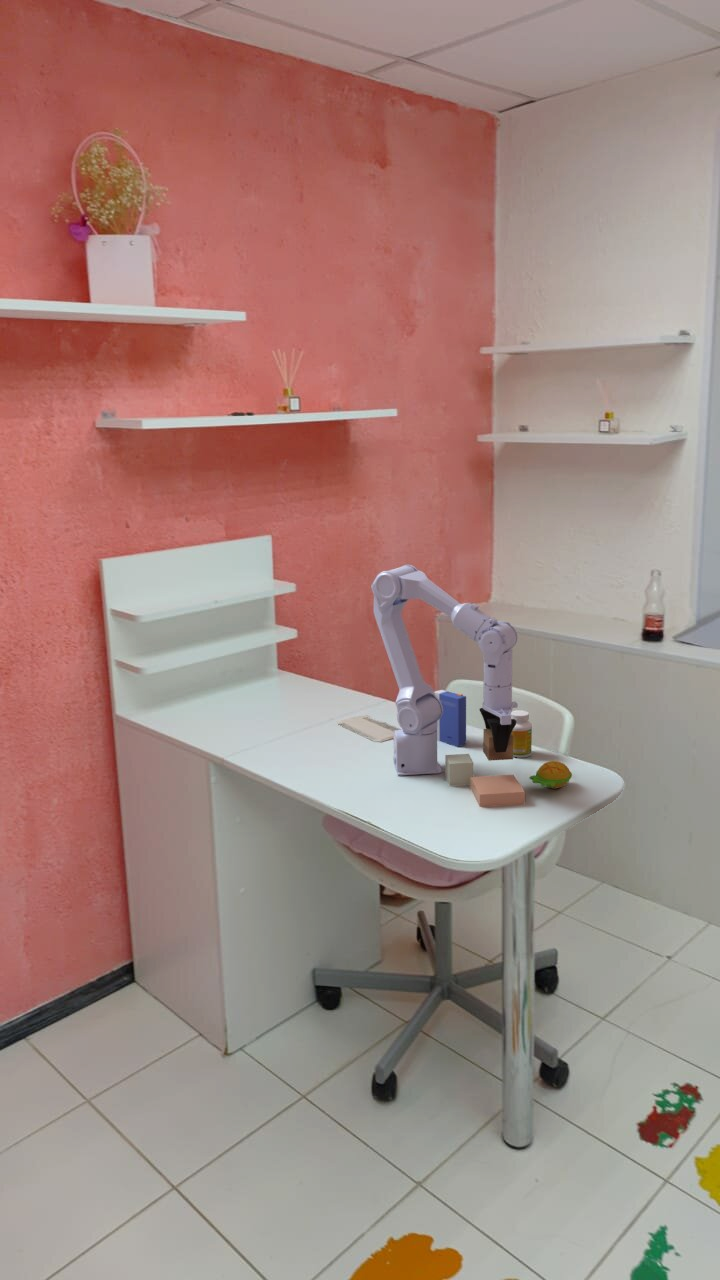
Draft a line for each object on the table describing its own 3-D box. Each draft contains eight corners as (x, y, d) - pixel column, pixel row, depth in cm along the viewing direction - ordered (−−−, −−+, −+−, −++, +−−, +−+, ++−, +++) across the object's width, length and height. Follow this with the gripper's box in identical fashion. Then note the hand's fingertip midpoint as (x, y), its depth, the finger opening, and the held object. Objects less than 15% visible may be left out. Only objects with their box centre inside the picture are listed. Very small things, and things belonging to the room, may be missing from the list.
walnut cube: (488, 760, 195) (489, 737, 194) (483, 751, 200) (483, 729, 199) (512, 759, 195) (513, 736, 194) (506, 750, 200) (507, 727, 199)
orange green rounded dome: (578, 785, 198) (579, 760, 197) (552, 800, 191) (552, 775, 190) (549, 776, 203) (550, 753, 202) (522, 791, 196) (523, 767, 194)
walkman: (466, 744, 223) (466, 694, 220) (458, 747, 221) (458, 697, 218) (440, 736, 228) (440, 687, 225) (433, 739, 227) (432, 690, 224)
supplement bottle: (530, 759, 213) (531, 717, 210) (506, 757, 214) (506, 716, 211) (531, 750, 218) (532, 709, 216) (507, 749, 219) (508, 708, 217)
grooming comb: (411, 734, 230) (411, 731, 230) (377, 745, 225) (377, 742, 225) (366, 716, 245) (366, 713, 245) (333, 725, 239) (333, 722, 239)
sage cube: (449, 786, 200) (449, 763, 198) (445, 777, 204) (445, 755, 203) (473, 784, 200) (473, 762, 199) (468, 775, 205) (468, 753, 204)
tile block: (479, 808, 189) (479, 794, 189) (470, 790, 198) (470, 777, 197) (524, 805, 190) (524, 791, 189) (513, 788, 199) (513, 774, 198)
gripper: (526, 692, 187) (525, 758, 190) (508, 672, 201) (507, 733, 204) (491, 694, 186) (490, 760, 190) (475, 674, 200) (475, 735, 204)
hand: (497, 746), depth 197 cm, fingers closed on walnut cube, 5 cm apart
